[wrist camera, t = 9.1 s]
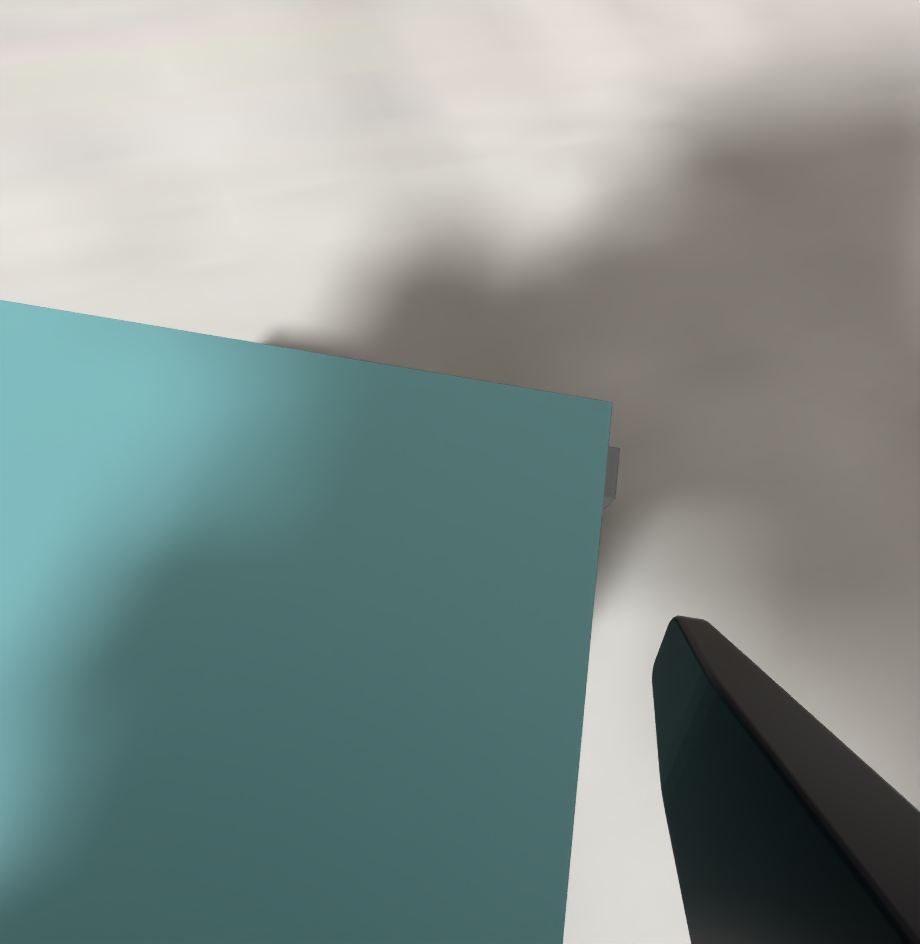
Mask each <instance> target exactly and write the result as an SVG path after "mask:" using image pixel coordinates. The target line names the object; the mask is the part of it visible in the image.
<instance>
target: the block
mask: <svg viewBox="0 0 920 944" xmlns="http://www.w3.org/2000/svg"><path fill="white" fill-rule="evenodd" d="M611 411H612V402H607V401H602V400H596V399H590V398H584V397H578V396H572V395H566V394H560V393H554V392H548V391H542V390H536V389H530V388H524V387H518V386H512V385H506V384H500V383H494V382H488V381H482V380H476V379H470V378H464V377H458V376H452V375H446V374H440V373H434V372H428V371H422V370H416V369H410V368H404V367H398V366H392V365H386V364H380V363H374V362H368V361H362V360H356V359H350V358H344V357H338V356H332V355H326V354H320V353H314V352H308V351H302V350H296V349H290V348H284V347H278V346H272V345H266V344H261V343H255V342H249V341H243V340H237V339H231V338H225V337H219V336H213V335H207V334H201V333H195V332H189V331H183V330H177V329H171V328H165V327H159V326H153V325H147V324H141V323H135V322H129V321H123V320H117V319H111V318H105V317H99V316H93V315H87V314H81V313H75V312H69V311H63V310H57V309H51V308H45V307H39V306H33V305H27V304H21V303H15V302H9V301H3V300H0V944H563V933H564V923H565V912H566V901H567V890H568V879H569V868H570V857H571V846H572V835H573V825H574V814H575V803H576V792H577V781H578V770H579V759H580V748H581V737H582V727H583V716H584V705H585V694H586V683H587V672H588V661H589V650H590V639H591V629H592V618H593V607H594V596H595V585H596V574H597V563H598V552H599V542H600V531H601V520H602V509H603V498H604V487H605V476H606V465H607V454H608V444H609V433H610V422H611Z"/></svg>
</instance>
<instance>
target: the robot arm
mask: <svg viewBox="0 0 920 944" xmlns="http://www.w3.org/2000/svg"><path fill="white" fill-rule="evenodd" d="M652 686H653V698H654V710H655V723H656V735H657V747H658V759H659V772H660V781H661V791H662V797H663V802H664V808H665V814H666V819H667V824H668V829H669V834H670V839H671V844H672V849H673V854H674V859H675V864H676V869H677V874H678V879H679V884H680V889H681V894H682V899H683V904H684V909H685V914H686V919H687V924H688V930H689V935H690V940H691V944H920V811H919V810H917V809H916V808H915V807H914V806H913V805H912V804H911V803H910V802H909V801H907V800H906V799H905V798H904V797H903V796H902V795H901V794H900V793H898V792H897V791H896V790H895V789H894V788H893V787H892V786H891V785H890V784H888V783H887V782H886V781H885V780H884V779H883V778H882V777H881V776H880V775H878V774H877V773H876V772H875V771H874V770H873V769H872V768H871V767H869V766H868V765H867V764H866V763H865V762H864V761H863V760H862V759H861V758H859V757H858V756H857V755H856V754H855V753H854V752H853V751H852V750H851V749H849V748H848V747H847V746H846V745H845V744H844V743H843V742H842V741H841V740H839V739H838V738H837V737H836V736H835V735H834V734H833V733H832V732H830V731H829V730H828V729H827V728H826V727H825V726H824V725H823V724H822V723H820V722H819V721H818V720H817V719H816V718H815V717H814V716H813V715H812V714H810V713H809V712H808V711H807V710H806V709H805V708H804V707H803V706H801V705H800V704H799V703H798V702H797V701H796V700H795V699H794V698H793V697H791V696H790V695H789V694H788V693H787V692H786V691H785V690H784V689H783V688H781V687H780V686H779V685H778V684H777V683H776V682H775V681H774V680H772V679H771V678H770V677H769V676H768V675H767V674H766V673H765V672H764V671H762V670H761V669H760V668H759V667H758V666H757V665H756V664H755V663H754V662H752V661H751V660H750V659H749V658H748V657H747V656H746V655H745V654H743V653H742V652H741V651H740V650H739V649H738V648H737V647H736V646H735V645H733V644H732V643H731V642H730V641H729V640H728V639H727V638H726V637H725V636H723V635H722V634H721V633H720V632H719V631H718V630H717V629H716V628H714V627H713V626H712V625H711V624H710V623H709V622H707V621H705V620H703V619H697V618H691V617H685V616H676V617H674V618H673V619H672V620H671V621H670V623H669V625H668V627H667V630H666V633H665V635H664V638H663V641H662V643H661V646H660V649H659V652H658V654H657V657H656V660H655V662H654V666H653V673H652Z"/></svg>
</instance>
